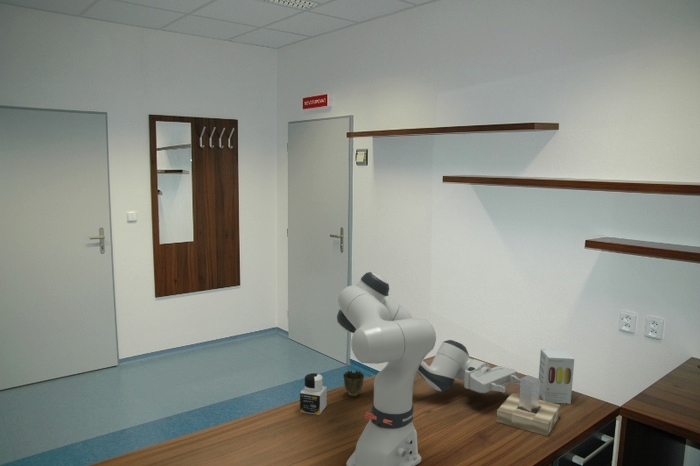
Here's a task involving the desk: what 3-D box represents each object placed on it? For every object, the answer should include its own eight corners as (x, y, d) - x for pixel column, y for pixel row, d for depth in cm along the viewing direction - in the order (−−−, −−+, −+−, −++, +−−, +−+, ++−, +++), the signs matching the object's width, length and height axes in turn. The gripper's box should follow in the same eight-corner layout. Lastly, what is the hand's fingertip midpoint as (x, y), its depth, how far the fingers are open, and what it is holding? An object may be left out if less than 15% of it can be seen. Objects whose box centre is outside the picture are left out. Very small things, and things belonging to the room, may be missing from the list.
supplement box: (544, 402, 186) (547, 357, 184) (536, 391, 195) (539, 348, 193) (571, 404, 185) (575, 358, 183) (563, 392, 194) (566, 349, 192)
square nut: (547, 436, 163) (548, 424, 162) (496, 421, 172) (497, 410, 171) (559, 416, 176) (560, 405, 175) (511, 403, 185) (512, 392, 184)
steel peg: (530, 423, 171) (532, 382, 169) (518, 418, 174) (520, 378, 172) (537, 419, 173) (540, 379, 172) (525, 414, 177) (528, 375, 175)
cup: (364, 391, 193) (364, 370, 192) (362, 400, 186) (363, 378, 185) (344, 390, 194) (344, 369, 193) (342, 399, 186) (342, 377, 185)
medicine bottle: (299, 412, 176) (299, 378, 175) (307, 403, 183) (307, 370, 181) (319, 415, 174) (319, 380, 173) (326, 406, 181) (327, 372, 179)
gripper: (496, 375, 195) (529, 387, 185) (461, 389, 182) (495, 403, 172) (497, 359, 195) (530, 370, 184) (462, 371, 182) (496, 384, 171)
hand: (513, 386), depth 178 cm, fingers open, 8 cm apart
